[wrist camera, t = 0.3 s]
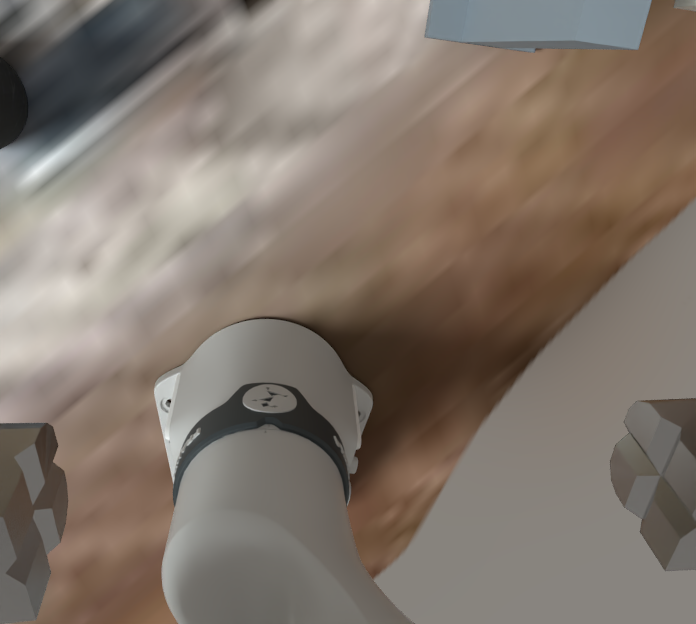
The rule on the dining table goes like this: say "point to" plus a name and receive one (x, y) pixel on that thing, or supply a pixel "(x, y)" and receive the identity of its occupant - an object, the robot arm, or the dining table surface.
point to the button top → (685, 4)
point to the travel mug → (11, 105)
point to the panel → (539, 23)
